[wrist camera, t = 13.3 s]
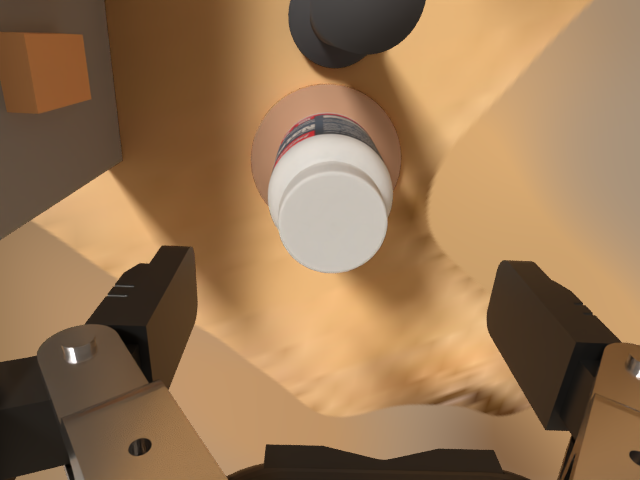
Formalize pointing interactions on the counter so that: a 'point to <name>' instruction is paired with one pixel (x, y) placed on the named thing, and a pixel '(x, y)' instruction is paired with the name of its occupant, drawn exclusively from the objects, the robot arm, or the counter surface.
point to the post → (350, 28)
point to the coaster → (322, 101)
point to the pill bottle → (330, 193)
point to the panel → (53, 104)
